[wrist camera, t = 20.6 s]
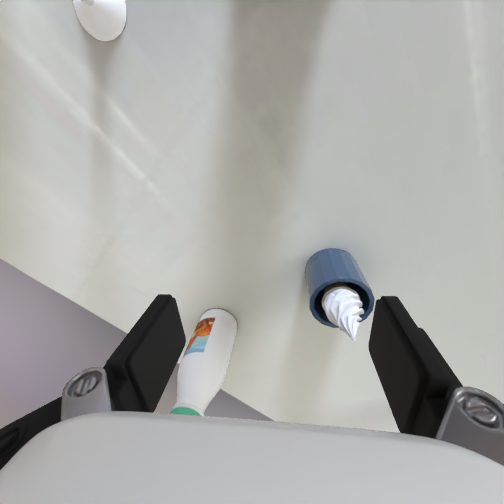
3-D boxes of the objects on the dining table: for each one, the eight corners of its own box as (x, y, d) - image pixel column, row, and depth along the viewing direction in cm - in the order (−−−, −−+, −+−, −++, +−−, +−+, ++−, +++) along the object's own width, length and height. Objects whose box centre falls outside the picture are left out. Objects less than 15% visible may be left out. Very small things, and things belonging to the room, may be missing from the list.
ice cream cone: (349, 281, 41) (379, 354, 28) (318, 287, 43) (333, 359, 29) (344, 255, 39) (375, 320, 26) (312, 262, 41) (326, 327, 27)
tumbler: (305, 248, 40) (310, 278, 32) (359, 247, 39) (378, 278, 31) (304, 291, 44) (309, 327, 36) (354, 291, 43) (369, 328, 35)
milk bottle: (233, 306, 48) (203, 412, 30) (241, 336, 51) (217, 448, 33) (196, 308, 49) (145, 410, 31) (205, 337, 52) (164, 445, 34)
